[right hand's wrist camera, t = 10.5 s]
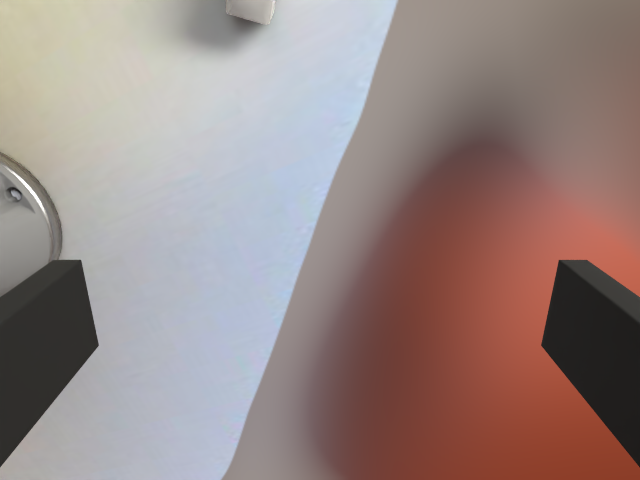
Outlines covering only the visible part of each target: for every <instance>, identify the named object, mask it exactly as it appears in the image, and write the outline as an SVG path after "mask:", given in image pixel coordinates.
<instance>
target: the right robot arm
mask: <svg viewBox="0 0 640 480" xmlns="http://www.w3.org/2000/svg"><path fill="white" fill-rule="evenodd" d="M61 245H62V231H61V225H60V220H59V217H58V214H57V211H56V209H55V206H54V204H53V202H52V200H51V198H50V197H49V195H48V193H47V192H46V190H45V189H44V188H43V186H42V185H41V184H40V183H39V181H38V180H37V179H36V178H35V177H34V176H33V175H32V174H31V173H30V172H29V171H28V170H27V169H25V168H24V167H23V166H22V165H20V164H19V163H18V162H16V161H15V160H13V159H12V158H10V157H8V156H6V155H5V154H3V153H1V152H0V467H1V466H2V464H3V463H4V462H5V461H6V459H7V458H8V457H9V456H10V455H11V453H12V452H13V451H14V450H15V448H16V447H17V446H18V445H19V443H20V442H21V441H22V440H23V438H24V437H25V436H26V435H27V434H28V432H29V431H30V430H31V429H32V427H33V426H34V425H35V424H36V422H37V421H38V420H39V419H40V417H41V416H42V415H43V414H44V413H45V411H46V410H47V409H48V408H49V406H50V405H51V404H52V403H53V401H54V400H55V399H56V398H57V396H58V395H59V394H60V393H61V392H62V390H63V389H64V388H65V387H66V385H67V384H68V383H69V382H70V380H71V379H72V378H73V377H74V375H75V374H76V373H77V372H78V370H79V369H80V368H81V367H82V366H83V364H84V363H85V362H86V361H87V359H88V358H89V357H90V356H91V354H92V353H93V352H94V351H95V349H96V348H97V347H98V346H99V344H98V340H97V335H96V330H95V325H94V320H93V315H92V311H91V306H90V301H89V296H88V291H87V287H86V282H85V277H84V272H83V267H82V262H81V260H58V258H59V255H60V251H61ZM541 346H542V347H543V348H544V349H545V351H546V352H547V353H548V354H549V356H550V357H551V358H552V359H553V361H554V362H555V363H556V364H557V365H558V367H559V368H560V369H561V370H562V372H563V373H564V374H565V375H566V377H567V378H568V379H569V380H570V382H571V383H572V384H573V385H574V386H575V388H576V389H577V390H578V392H579V393H580V394H581V395H582V396H583V398H584V399H585V400H586V401H587V403H588V404H589V405H590V406H591V408H592V409H593V410H594V411H595V412H596V414H597V415H598V416H599V417H600V419H601V420H602V421H603V422H604V424H605V425H606V426H607V427H608V429H609V430H610V431H611V432H612V434H613V435H614V436H615V437H616V438H617V440H618V441H619V442H620V443H621V445H622V446H623V447H624V448H625V450H626V451H627V452H628V453H629V455H630V456H631V457H632V458H633V459H634V461H635V462H636V463H637V464H638V466H639V467H640V297H639V296H637V295H636V294H634V293H633V292H631V291H630V290H629V289H627V288H626V287H624V286H623V285H622V284H620V283H619V282H617V281H616V280H615V279H613V278H612V277H610V276H609V275H607V274H606V273H604V272H603V271H602V270H600V269H599V268H598V267H596V266H595V265H593V264H592V263H590V262H589V261H588V260H559V262H558V267H557V272H556V277H555V282H554V287H553V291H552V296H551V301H550V306H549V311H548V315H547V320H546V325H545V330H544V335H543V340H542V344H541Z"/></svg>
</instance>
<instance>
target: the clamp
mask: <svg viewBox="0 0 640 480" xmlns="http://www.w3.org/2000/svg"><path fill="white" fill-rule="evenodd" d="M275 3H276V0H226V13H227V14H230V15H233V16H237V17H240V18H244V19H247V20H250V21H254V22H257V23H261V24H264V25H268V24H269V23H270V21H271V18H272V16H273V13H274V10H275Z"/></svg>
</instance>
